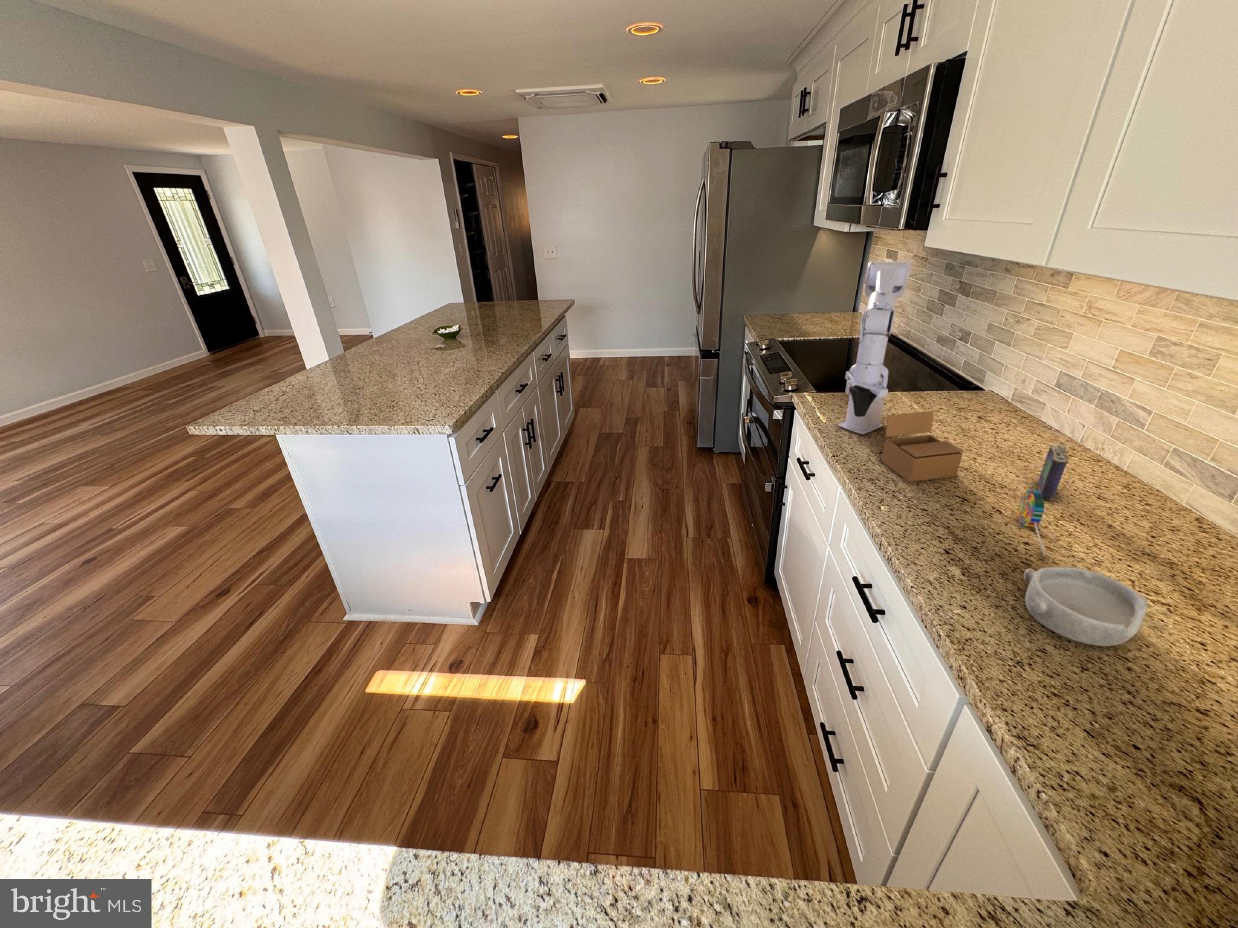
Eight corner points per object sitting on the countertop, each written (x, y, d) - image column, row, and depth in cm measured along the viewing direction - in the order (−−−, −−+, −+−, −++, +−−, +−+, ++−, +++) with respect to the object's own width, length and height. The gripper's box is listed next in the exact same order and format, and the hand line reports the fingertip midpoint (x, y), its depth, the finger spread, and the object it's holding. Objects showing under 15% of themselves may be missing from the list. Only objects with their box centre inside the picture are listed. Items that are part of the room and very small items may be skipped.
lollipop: (1031, 566, 94) (1015, 506, 104) (1040, 567, 93) (1023, 507, 103) (1048, 543, 89) (1029, 482, 99) (1058, 544, 89) (1038, 483, 98)
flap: (886, 436, 123) (885, 436, 123) (931, 432, 124) (930, 431, 124) (888, 415, 121) (887, 415, 122) (933, 411, 122) (932, 410, 123)
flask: (1036, 480, 115) (1052, 436, 110) (1052, 483, 113) (1069, 439, 108) (1039, 498, 108) (1056, 453, 103) (1056, 502, 106) (1075, 456, 101)
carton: (880, 460, 126) (886, 436, 123) (924, 455, 127) (930, 431, 124) (909, 481, 116) (915, 455, 113) (956, 476, 118) (963, 450, 115)
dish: (1137, 612, 79) (1151, 587, 76) (1137, 668, 70) (1153, 642, 67) (1022, 574, 87) (1032, 550, 85) (1009, 619, 78) (1019, 595, 76)
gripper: (837, 355, 125) (829, 406, 132) (871, 372, 112) (860, 428, 119) (864, 352, 126) (855, 404, 132) (901, 369, 113) (888, 425, 119)
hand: (859, 415), depth 126 cm, fingers closed
